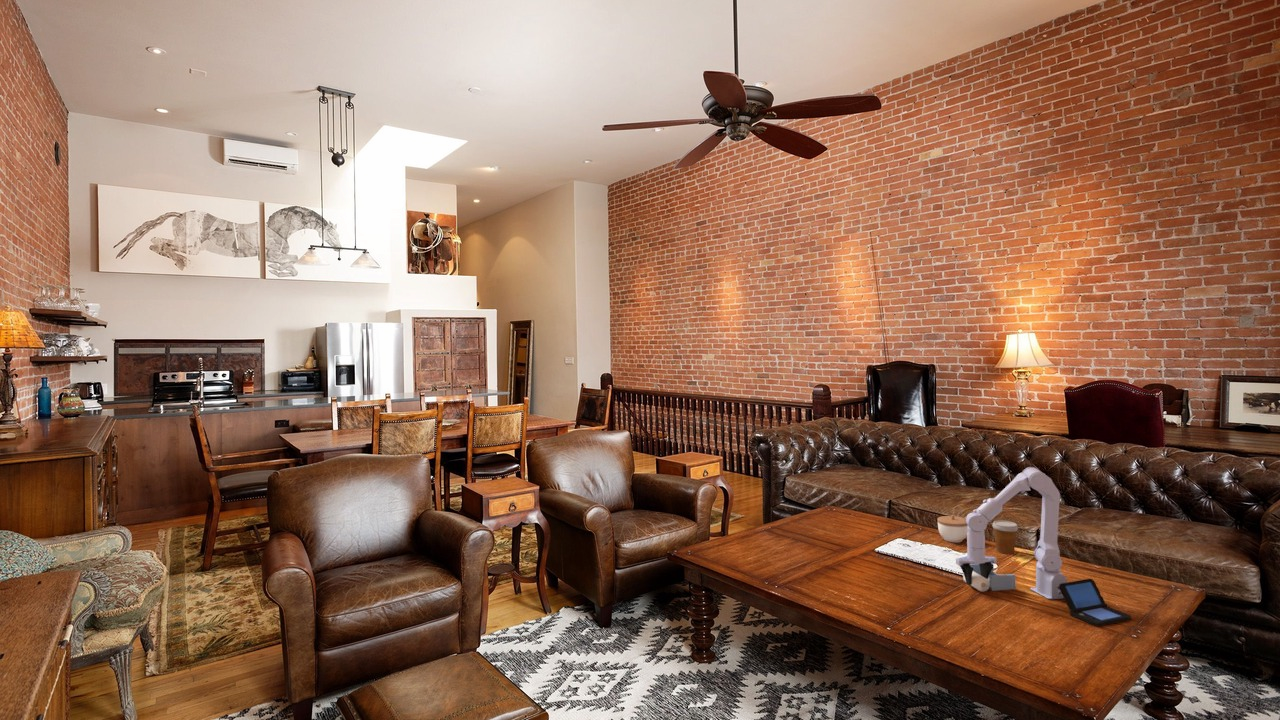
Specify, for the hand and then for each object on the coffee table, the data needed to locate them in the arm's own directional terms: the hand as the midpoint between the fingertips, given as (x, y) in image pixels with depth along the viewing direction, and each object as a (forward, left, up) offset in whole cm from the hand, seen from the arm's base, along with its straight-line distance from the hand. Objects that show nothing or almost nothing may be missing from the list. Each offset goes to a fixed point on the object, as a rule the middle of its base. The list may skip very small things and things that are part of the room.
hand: (976, 583), depth 233 cm
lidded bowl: (+51, -23, -2) cm, 56 cm away
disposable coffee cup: (+33, -35, -2) cm, 48 cm away
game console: (-27, -23, -2) cm, 36 cm away
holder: (+3, -8, -1) cm, 9 cm away
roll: (0, 0, -2) cm, 2 cm away
